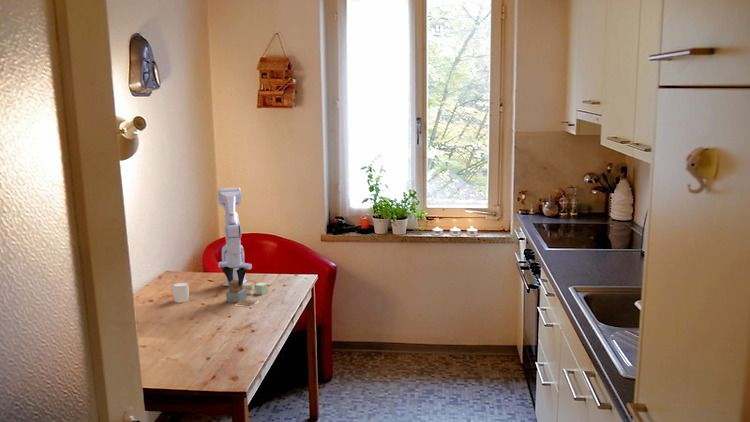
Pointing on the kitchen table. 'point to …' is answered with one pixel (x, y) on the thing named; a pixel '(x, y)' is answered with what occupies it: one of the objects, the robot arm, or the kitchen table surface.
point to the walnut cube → (235, 286)
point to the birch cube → (248, 287)
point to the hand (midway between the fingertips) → (235, 284)
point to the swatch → (247, 303)
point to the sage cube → (261, 288)
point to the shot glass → (181, 292)
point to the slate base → (236, 296)
